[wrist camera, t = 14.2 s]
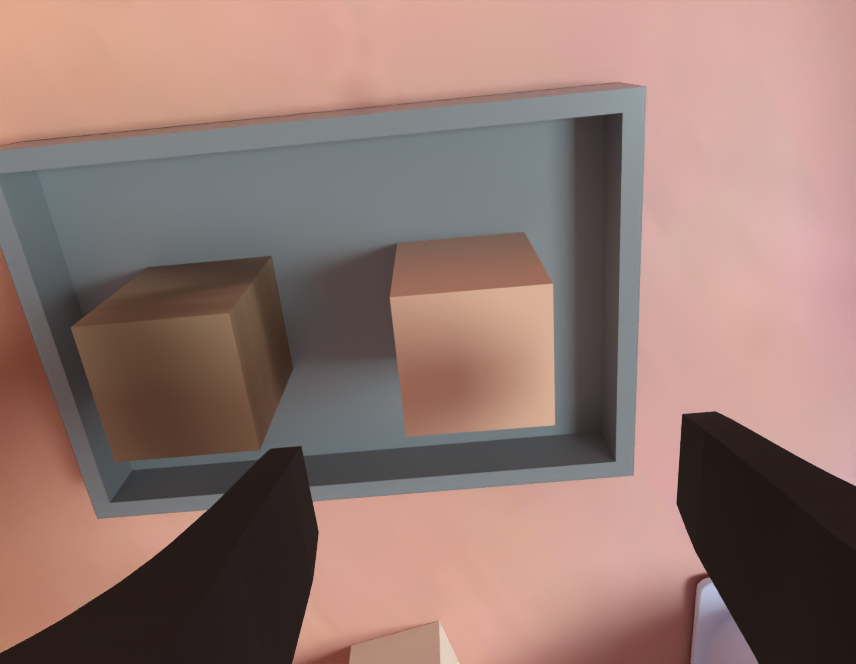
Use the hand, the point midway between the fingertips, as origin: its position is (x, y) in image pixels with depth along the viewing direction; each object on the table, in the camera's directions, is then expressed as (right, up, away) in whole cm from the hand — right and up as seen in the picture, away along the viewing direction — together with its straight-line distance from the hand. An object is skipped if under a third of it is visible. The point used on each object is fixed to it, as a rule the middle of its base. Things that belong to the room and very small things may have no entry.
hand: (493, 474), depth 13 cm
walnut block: (-8, +3, +9) cm, 13 cm away
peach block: (0, +4, +9) cm, 10 cm away
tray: (-4, +4, +10) cm, 11 cm away
